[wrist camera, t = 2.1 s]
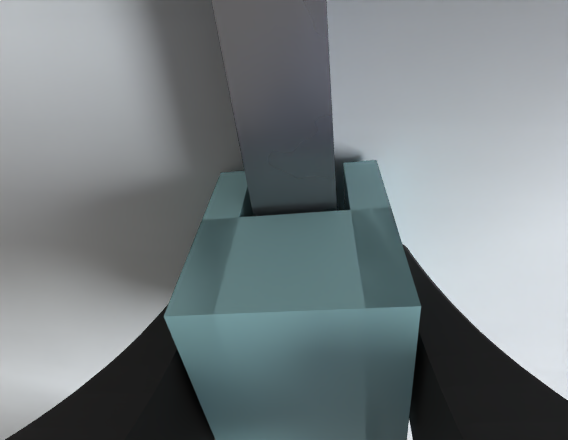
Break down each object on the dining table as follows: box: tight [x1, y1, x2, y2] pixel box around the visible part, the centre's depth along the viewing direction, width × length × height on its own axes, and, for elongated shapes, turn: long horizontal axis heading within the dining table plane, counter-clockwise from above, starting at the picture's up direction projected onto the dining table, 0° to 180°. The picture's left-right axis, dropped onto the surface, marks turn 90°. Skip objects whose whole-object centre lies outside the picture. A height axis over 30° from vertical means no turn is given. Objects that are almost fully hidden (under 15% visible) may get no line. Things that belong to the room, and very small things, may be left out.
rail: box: [211, 0, 337, 216], centre depth 10 cm, size 4×15×3 cm, turn 7°
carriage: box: [164, 160, 421, 440], centre depth 11 cm, size 4×6×5 cm
